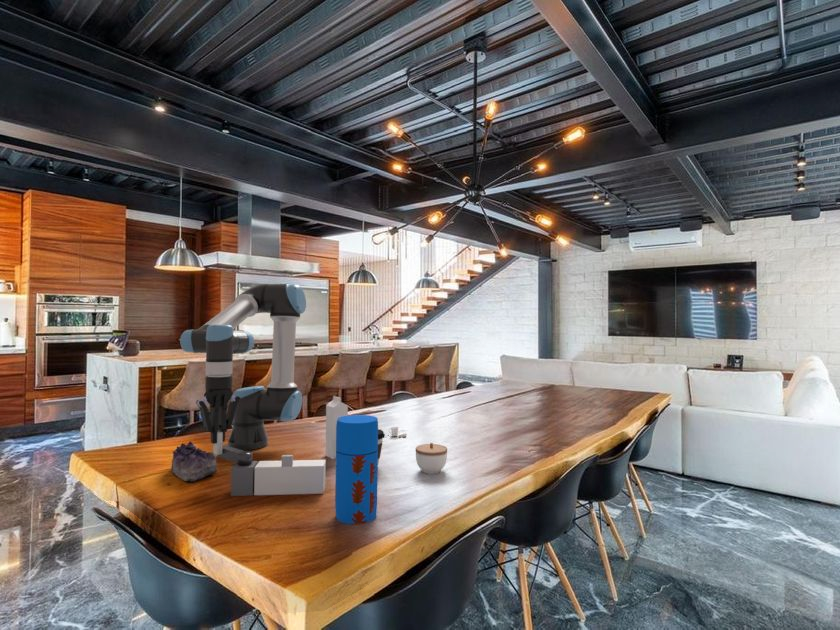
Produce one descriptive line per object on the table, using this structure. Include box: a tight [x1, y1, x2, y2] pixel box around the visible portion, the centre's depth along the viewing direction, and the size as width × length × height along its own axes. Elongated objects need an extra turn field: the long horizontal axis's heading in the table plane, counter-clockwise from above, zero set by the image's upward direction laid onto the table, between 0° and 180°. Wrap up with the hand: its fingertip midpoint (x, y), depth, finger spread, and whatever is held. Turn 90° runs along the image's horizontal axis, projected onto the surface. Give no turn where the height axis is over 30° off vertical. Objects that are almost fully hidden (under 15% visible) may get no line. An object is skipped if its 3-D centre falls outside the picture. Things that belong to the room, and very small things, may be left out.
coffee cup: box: [378, 428, 386, 464], centre depth 160 cm, size 11×11×12 cm
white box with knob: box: [230, 454, 327, 497], centre depth 137 cm, size 6×26×11 cm, turn 96°
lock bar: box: [212, 443, 253, 465], centre depth 139 cm, size 4×16×3 cm, turn 55°
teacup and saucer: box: [388, 426, 407, 438], centre depth 203 cm, size 9×8×4 cm
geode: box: [170, 441, 218, 483], centre depth 151 cm, size 20×12×10 cm, turn 49°
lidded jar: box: [415, 442, 448, 475], centre depth 157 cm, size 11×11×9 cm
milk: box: [325, 395, 349, 460], centre depth 172 cm, size 6×6×22 cm
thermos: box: [334, 414, 379, 525], centre depth 120 cm, size 11×11×25 cm
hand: (217, 453), depth 141 cm, fingers closed
